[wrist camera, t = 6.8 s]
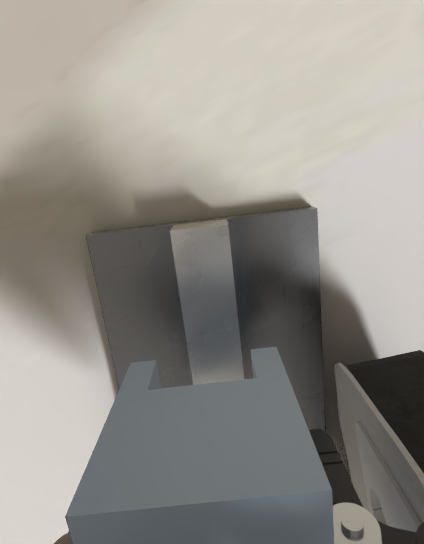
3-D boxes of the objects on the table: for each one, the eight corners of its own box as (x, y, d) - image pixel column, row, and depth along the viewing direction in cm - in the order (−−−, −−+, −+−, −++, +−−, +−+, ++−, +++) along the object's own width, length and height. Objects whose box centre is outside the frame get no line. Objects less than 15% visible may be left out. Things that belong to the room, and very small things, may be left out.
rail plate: (91, 232, 18) (72, 242, 15) (312, 206, 17) (328, 212, 15) (139, 460, 21) (130, 496, 19) (321, 442, 21) (335, 477, 19)
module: (130, 362, 12) (58, 531, 6) (276, 346, 12) (337, 504, 6) (161, 518, 14) (128, 760, 8) (289, 505, 14) (345, 743, 8)
